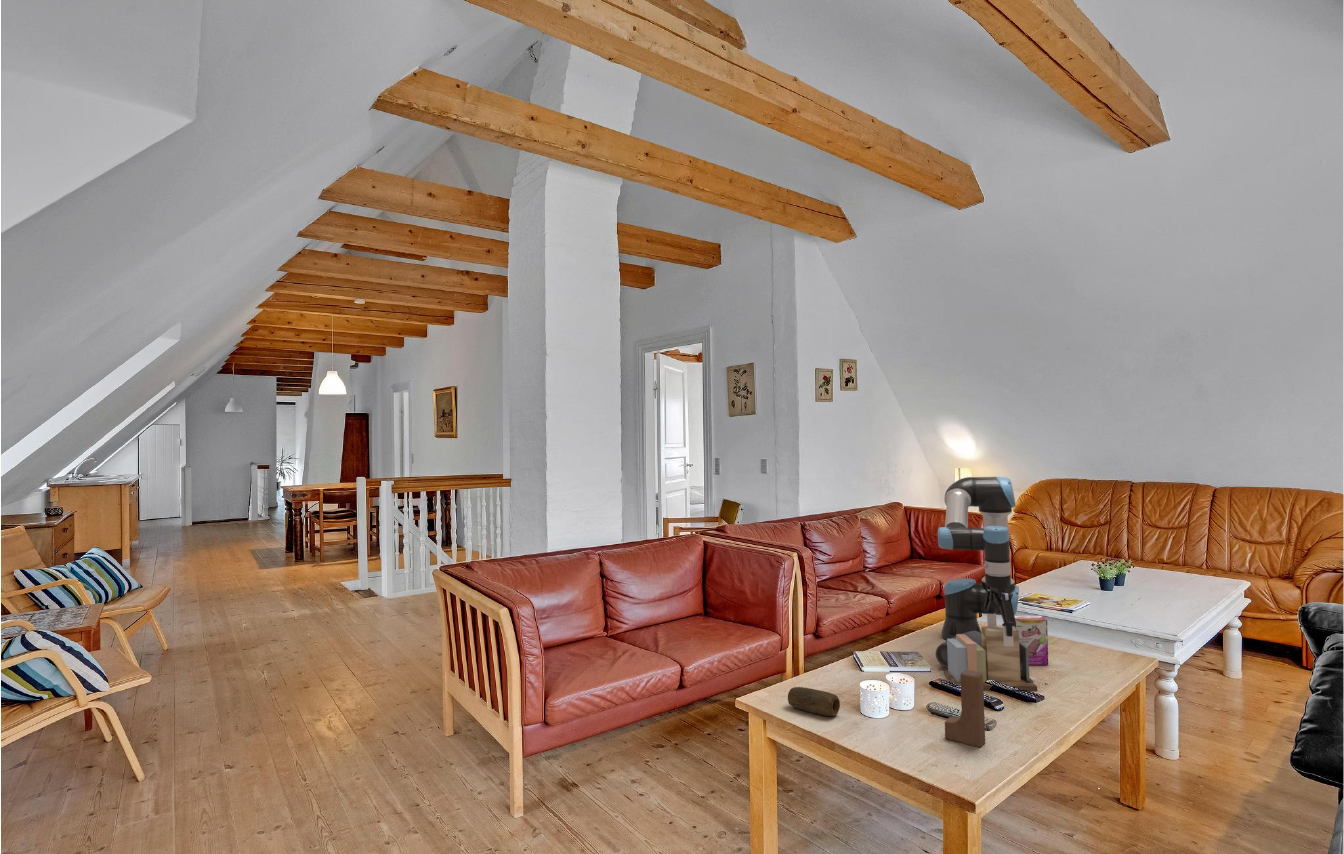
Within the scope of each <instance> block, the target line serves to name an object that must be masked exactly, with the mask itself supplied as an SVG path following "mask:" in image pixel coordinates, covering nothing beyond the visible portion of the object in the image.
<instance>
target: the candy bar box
mask: <svg viewBox="0 0 1344 854" xmlns="http://www.w3.org/2000/svg"><path fill="white" fill-rule="evenodd" d="M1014 616H1015V621H1016V625H1014V626H1013V627H1014V628H1016V629H1017V630H1019V642H1020V643H1022V644H1023V645H1025V646H1026V647H1028V655H1029V666H1049V642H1048V639H1049V637H1048V619H1047V618H1046V617H1044V616H1042V615H1019V614H1018V615H1016V614H1015V615H1014Z"/></svg>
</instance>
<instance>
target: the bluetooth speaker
mask: <svg viewBox="0 0 1344 854" xmlns="http://www.w3.org/2000/svg"><path fill="white" fill-rule="evenodd" d="M963 634H965V635H966V636H967V637H969V638H970V639H971V640H972V641H974V642H976V643H977V644H978V645H979V646H981V647H982V634H981V633H980V632H978V631H970V632H966V633H963ZM951 639H956V636H955V637H953V638H951ZM935 657H936V660H937V662H938V663H939V664H940V665H941V666H942V667H944V668H947V669H948V654H947V640H945V641H944V642H942V643H941V644H939V645H938V646H937V647H936V649H935Z"/></svg>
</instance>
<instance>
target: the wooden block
mask: <svg viewBox="0 0 1344 854" xmlns="http://www.w3.org/2000/svg"><path fill="white" fill-rule="evenodd" d="M960 679H961V690H960V697H961V698H960V700H961V702H960V704H961V706H960V707H961V713H960V716H959V717H957V716H949V717H948V718H947V719H946V720H945V721H944V738H945V739H946V740H950V741H953V742H957V743H961V744H965V745H968V746H969V745H970V746H972V747H976V748H977V747H978V748H982V746H983V745H984V744H985V742H986V728H985V727H986V722H985V702H984V700H985V699H984V690H983V674H982V673H981V672H975V671H970V670H965V671H963V672H962V673H961V674H960Z"/></svg>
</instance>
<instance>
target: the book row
mask: <svg viewBox="0 0 1344 854" xmlns="http://www.w3.org/2000/svg"><path fill="white" fill-rule="evenodd" d="M946 641H947V654H948V668H947V671H948V672H949V673H950V674H951V675H952V676H953V677H954V678H955V679H956V681H957V682H961V679H960V674H961V673H962V672H963V671H965V670H970V671H975V672H981V673H982V674H983V682H986V681H987V678H986V652H985V650H984V649H983V648H982V647H981V646H979V645H978V644H977V643H976V642H974V641H972V640H971V639H970V638H969V637H967V636H966V635H965V634H956V639H947V640H946Z"/></svg>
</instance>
